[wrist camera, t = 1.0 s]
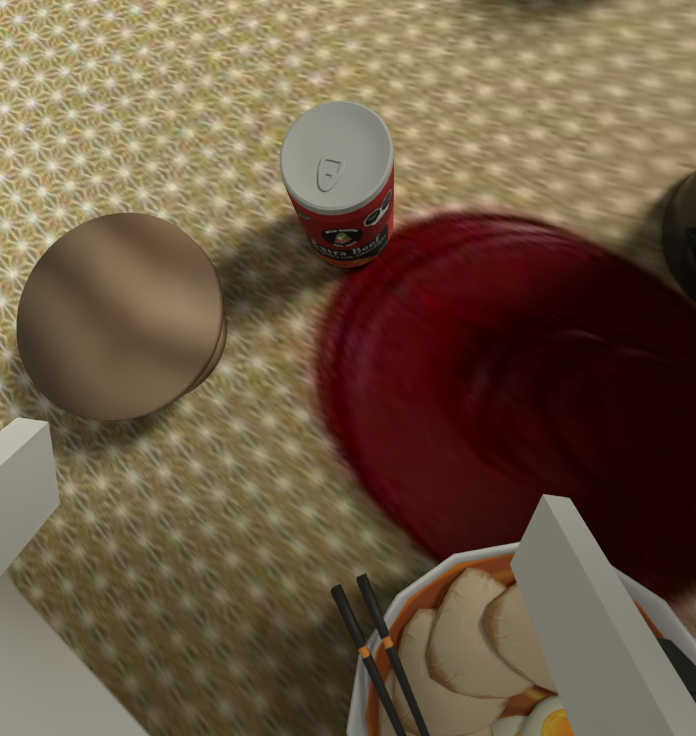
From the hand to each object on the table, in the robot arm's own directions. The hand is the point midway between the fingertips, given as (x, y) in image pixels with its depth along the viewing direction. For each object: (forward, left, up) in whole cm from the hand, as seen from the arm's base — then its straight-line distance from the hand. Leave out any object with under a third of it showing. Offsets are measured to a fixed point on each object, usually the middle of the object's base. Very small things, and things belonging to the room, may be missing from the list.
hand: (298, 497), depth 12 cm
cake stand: (-1, -21, -26) cm, 33 cm away
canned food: (-17, -10, -26) cm, 33 cm away
